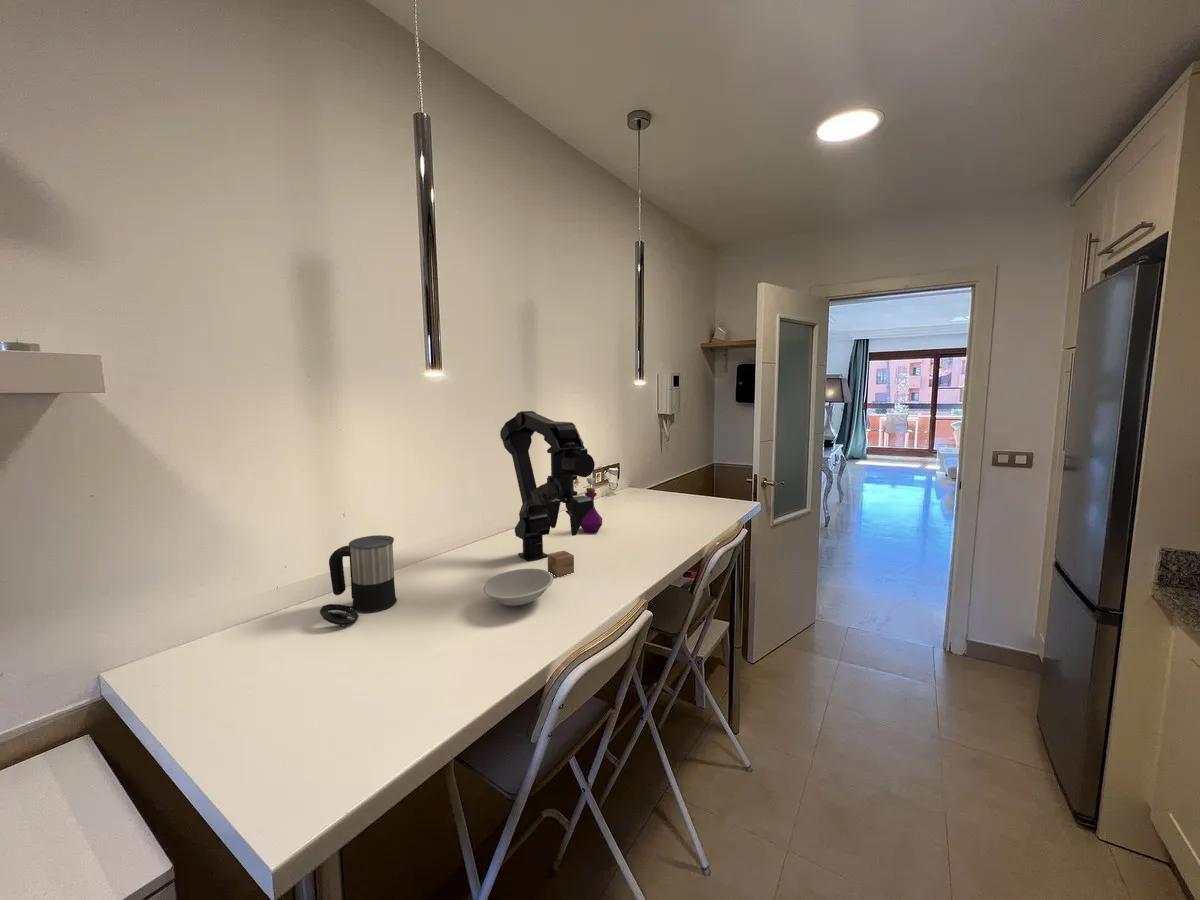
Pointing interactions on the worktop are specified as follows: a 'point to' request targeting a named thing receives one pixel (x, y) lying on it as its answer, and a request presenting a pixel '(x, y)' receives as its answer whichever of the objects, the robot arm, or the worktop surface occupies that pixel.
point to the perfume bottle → (591, 512)
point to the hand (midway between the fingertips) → (563, 531)
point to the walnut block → (560, 563)
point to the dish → (518, 586)
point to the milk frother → (363, 578)
